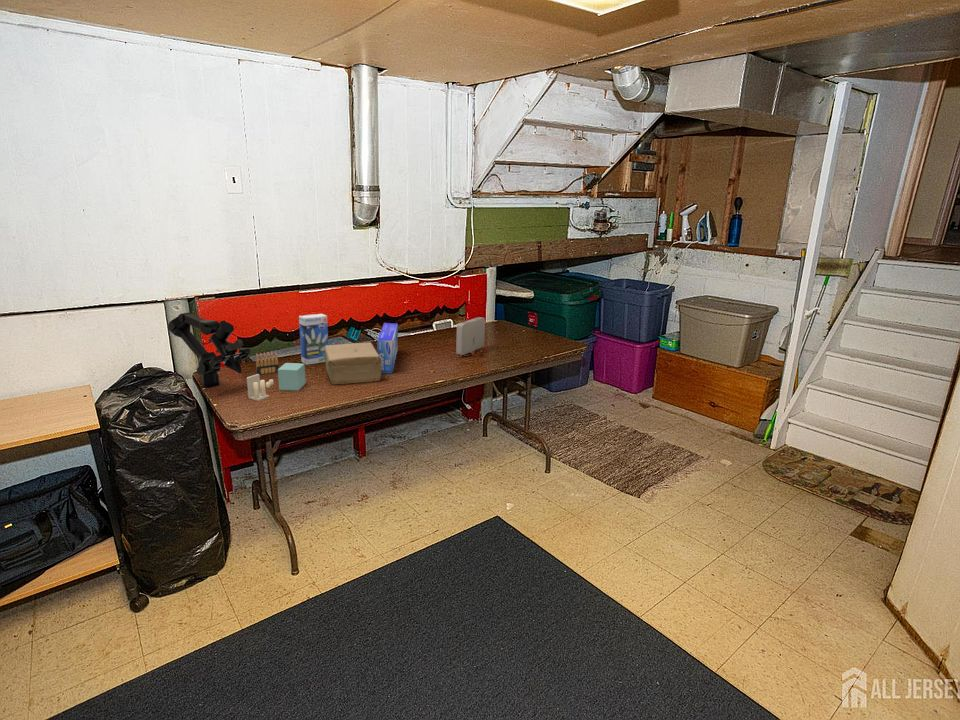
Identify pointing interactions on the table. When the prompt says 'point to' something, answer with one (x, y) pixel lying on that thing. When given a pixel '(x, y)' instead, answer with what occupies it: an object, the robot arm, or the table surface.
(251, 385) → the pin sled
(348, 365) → the paper package
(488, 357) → the table surface
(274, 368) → the ammunition clip
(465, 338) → the network device
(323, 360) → the string lights box
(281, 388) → the housing
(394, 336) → the toner cartridge box
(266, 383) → the board
